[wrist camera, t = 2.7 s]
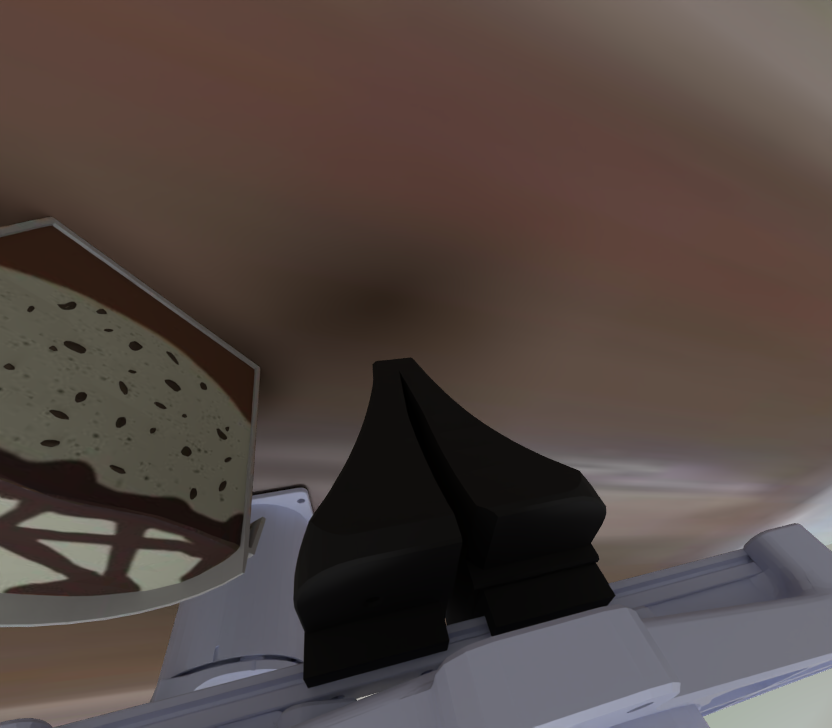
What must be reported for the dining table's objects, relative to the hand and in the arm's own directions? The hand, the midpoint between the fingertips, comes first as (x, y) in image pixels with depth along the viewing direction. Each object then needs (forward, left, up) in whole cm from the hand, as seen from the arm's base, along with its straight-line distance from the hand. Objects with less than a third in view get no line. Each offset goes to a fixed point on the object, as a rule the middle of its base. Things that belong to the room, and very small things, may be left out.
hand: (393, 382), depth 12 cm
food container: (-1, +11, -7) cm, 13 cm away
